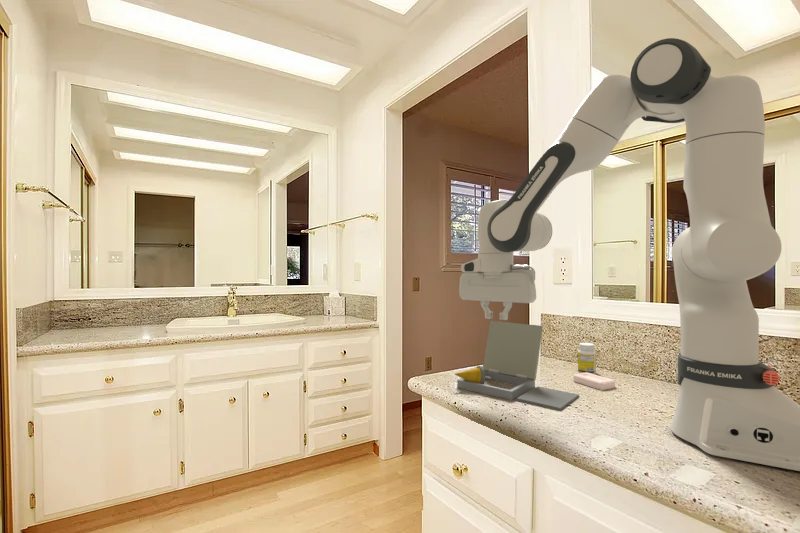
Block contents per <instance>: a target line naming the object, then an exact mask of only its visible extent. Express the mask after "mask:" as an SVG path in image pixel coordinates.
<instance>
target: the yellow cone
mask: <svg viewBox="0 0 800 533" xmlns="http://www.w3.org/2000/svg"><path fill="white" fill-rule="evenodd" d="M454 375H455V376H457V377H459V378H460V379H461V378H463V379H464V380H466V381H471V382H476V383H480V384H485V382H486V380H490V379H491V377H489V376H485V370H484V368H483V365H482V366H480V365H478V366H476V367H475V368H470V369H467V370H464V371H461V372H456V373H454Z"/></svg>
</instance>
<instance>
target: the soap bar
mask: <svg viewBox="0 0 800 533" xmlns="http://www.w3.org/2000/svg"><path fill="white" fill-rule="evenodd" d="M572 378H573V379H572V380H573V382H576V383H579V384H580V385H583V386H584V385H585V386H587V387H590V388H594V389H597V390H601V391H604V390H609V389H613V388H616V380H614V379H611V378H608V377H605V376H600V375H597V374H591V373H587V372H586V373H580V372H578V373H574V374H573V377H572Z"/></svg>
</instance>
